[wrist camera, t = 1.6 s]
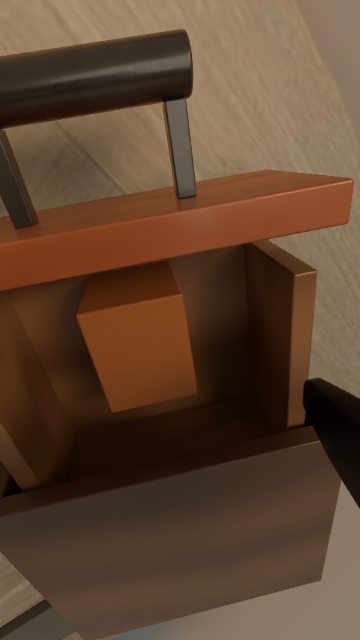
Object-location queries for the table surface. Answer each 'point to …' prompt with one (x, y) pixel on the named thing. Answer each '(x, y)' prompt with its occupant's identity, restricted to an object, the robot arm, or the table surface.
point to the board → (37, 625)
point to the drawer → (142, 250)
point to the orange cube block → (138, 336)
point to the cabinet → (175, 532)
